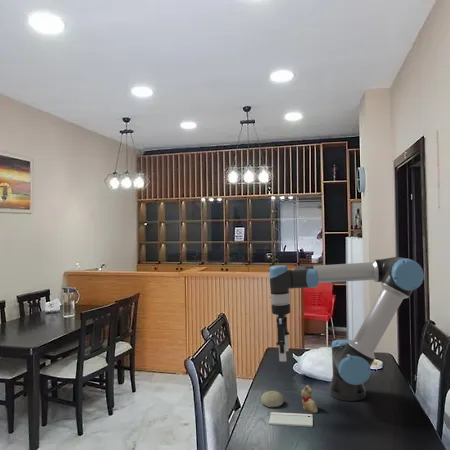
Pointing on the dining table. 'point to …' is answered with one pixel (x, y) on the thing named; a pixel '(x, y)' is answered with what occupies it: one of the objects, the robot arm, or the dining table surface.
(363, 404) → the dining table surface
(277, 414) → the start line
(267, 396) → the sea urchin shell
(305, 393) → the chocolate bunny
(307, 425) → the mat
